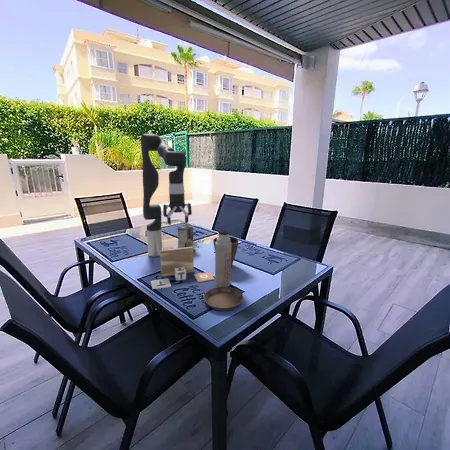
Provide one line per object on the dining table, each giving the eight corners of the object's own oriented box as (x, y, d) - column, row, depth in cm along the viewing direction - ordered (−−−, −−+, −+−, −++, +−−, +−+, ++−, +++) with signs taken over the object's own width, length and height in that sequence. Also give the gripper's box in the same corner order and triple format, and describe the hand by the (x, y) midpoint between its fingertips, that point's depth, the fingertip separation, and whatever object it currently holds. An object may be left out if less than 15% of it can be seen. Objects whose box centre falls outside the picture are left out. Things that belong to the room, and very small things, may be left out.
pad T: (150, 281, 134) (150, 280, 134) (168, 279, 138) (168, 278, 137) (152, 290, 126) (152, 288, 126) (171, 286, 130) (171, 285, 129)
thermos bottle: (233, 284, 133) (235, 232, 126) (220, 288, 129) (221, 235, 121) (224, 278, 139) (225, 228, 132) (212, 282, 135) (212, 231, 128)
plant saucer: (218, 318, 106) (218, 312, 105) (196, 299, 119) (196, 293, 119) (250, 305, 116) (251, 298, 115) (227, 288, 130) (227, 283, 129)
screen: (160, 272, 145) (159, 249, 141) (192, 268, 151) (191, 245, 148) (162, 276, 140) (160, 252, 137) (194, 271, 147) (194, 248, 143)
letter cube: (174, 276, 141) (174, 267, 140) (183, 275, 143) (183, 266, 141) (176, 280, 136) (176, 271, 135) (186, 279, 138) (185, 270, 137)
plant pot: (229, 272, 147) (230, 246, 142) (208, 266, 154) (208, 241, 150) (242, 264, 159) (243, 239, 155) (221, 258, 166) (221, 234, 162)
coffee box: (186, 247, 186) (186, 225, 182) (193, 248, 183) (193, 226, 179) (177, 250, 179) (177, 228, 175) (184, 252, 176) (184, 229, 171)
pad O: (193, 275, 143) (193, 274, 143) (209, 272, 146) (209, 271, 146) (198, 282, 135) (198, 281, 135) (214, 279, 138) (214, 278, 138)
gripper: (188, 191, 137) (189, 221, 140) (161, 192, 132) (162, 223, 135) (192, 192, 130) (193, 224, 134) (163, 193, 125) (165, 226, 128)
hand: (178, 223), depth 134 cm, fingers open, 8 cm apart
